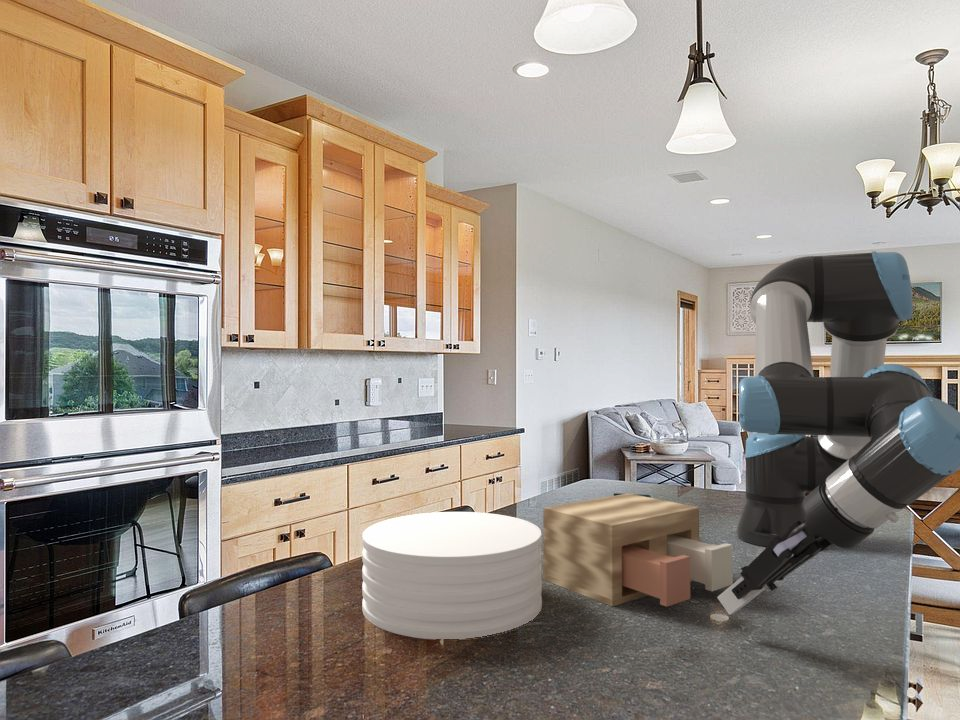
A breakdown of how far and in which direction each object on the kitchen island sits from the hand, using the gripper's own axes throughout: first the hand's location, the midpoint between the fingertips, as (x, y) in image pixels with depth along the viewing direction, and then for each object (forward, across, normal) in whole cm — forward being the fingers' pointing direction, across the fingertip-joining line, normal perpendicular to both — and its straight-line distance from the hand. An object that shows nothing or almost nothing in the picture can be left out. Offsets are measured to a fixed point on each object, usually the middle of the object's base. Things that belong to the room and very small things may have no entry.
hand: (726, 604), depth 92 cm
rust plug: (+13, 0, +10) cm, 17 cm away
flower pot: (+32, +28, +26) cm, 50 cm away
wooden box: (+20, +6, +14) cm, 25 cm away
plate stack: (+26, -24, +20) cm, 41 cm away
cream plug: (+13, +11, +10) cm, 20 cm away
